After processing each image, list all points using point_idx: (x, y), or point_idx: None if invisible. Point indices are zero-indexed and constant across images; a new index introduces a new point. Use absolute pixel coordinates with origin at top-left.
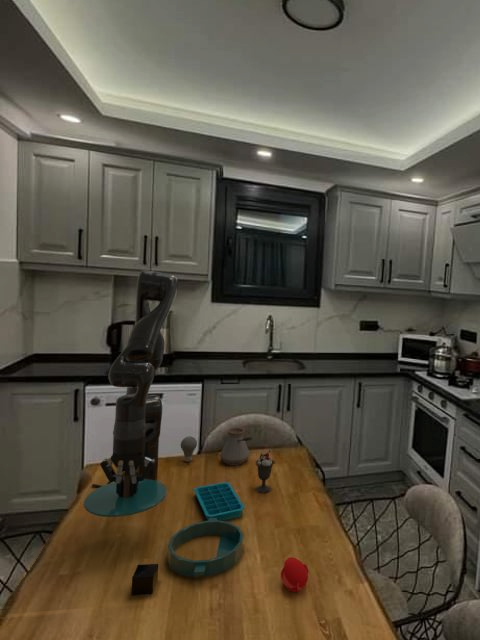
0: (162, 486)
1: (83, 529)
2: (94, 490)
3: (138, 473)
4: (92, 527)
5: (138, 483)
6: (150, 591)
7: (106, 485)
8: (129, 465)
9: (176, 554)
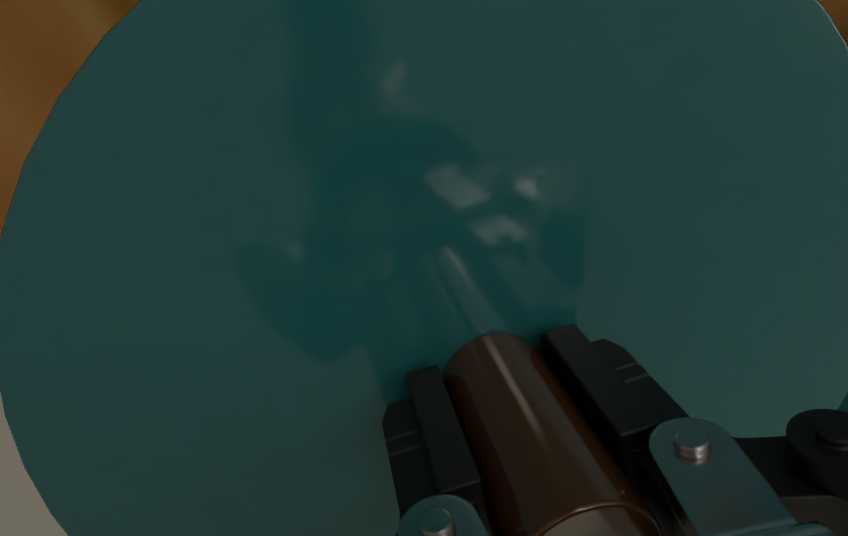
0: (823, 70)
1: (10, 123)
2: (8, 393)
3: (781, 522)
4: (54, 85)
5: (675, 405)
6: None
7: (40, 228)
8: None
9: None
